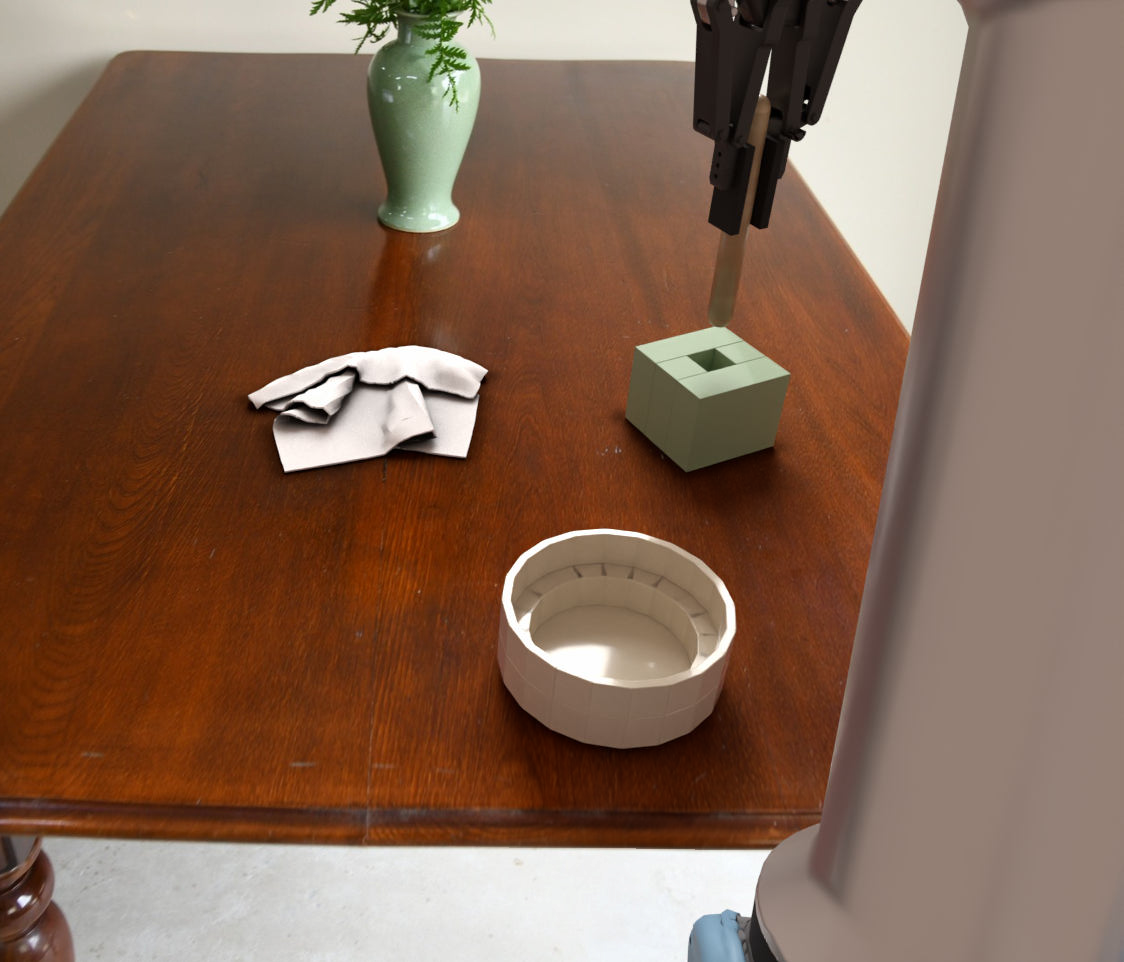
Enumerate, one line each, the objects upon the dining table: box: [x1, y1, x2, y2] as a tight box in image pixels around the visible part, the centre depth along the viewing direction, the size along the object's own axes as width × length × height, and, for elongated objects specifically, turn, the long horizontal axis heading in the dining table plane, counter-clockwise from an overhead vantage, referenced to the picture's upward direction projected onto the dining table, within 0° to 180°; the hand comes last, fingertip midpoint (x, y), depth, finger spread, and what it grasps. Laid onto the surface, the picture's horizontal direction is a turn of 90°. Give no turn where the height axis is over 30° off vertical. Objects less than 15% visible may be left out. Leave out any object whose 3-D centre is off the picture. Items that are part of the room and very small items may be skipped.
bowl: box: [496, 528, 738, 750], centre depth 71 cm, size 14×14×6 cm
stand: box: [624, 326, 792, 473], centre depth 93 cm, size 9×9×7 cm
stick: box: [706, 93, 771, 328], centre depth 84 cm, size 2×2×18 cm
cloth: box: [247, 345, 489, 474], centre depth 97 cm, size 20×22×2 cm
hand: (737, 224), depth 84 cm, fingers closed on stick, 2 cm apart
